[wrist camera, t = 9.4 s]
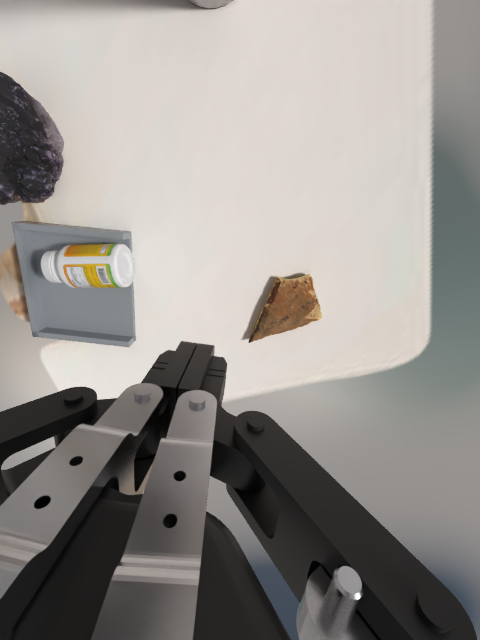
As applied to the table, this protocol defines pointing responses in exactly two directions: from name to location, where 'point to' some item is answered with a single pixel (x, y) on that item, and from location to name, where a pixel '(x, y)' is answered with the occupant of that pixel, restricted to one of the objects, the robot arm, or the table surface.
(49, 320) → the tray
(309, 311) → the shard
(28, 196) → the crystal cluster
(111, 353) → the table surface
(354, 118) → the table surface
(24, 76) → the table surface
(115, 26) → the table surface
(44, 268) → the supplement bottle
